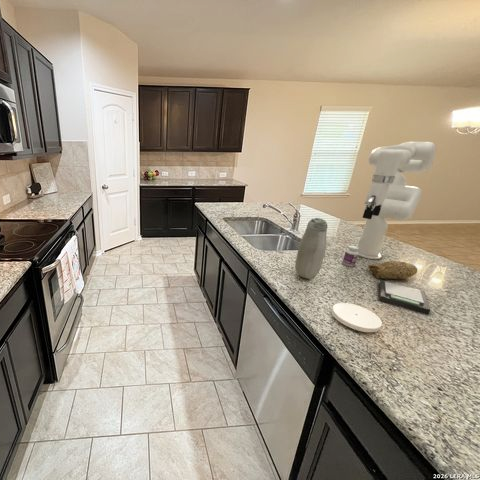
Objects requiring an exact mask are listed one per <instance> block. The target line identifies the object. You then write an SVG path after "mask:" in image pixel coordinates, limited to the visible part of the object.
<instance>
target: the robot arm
mask: <svg viewBox="0 0 480 480" xmlns="http://www.w3.org/2000/svg"><path fill="white" fill-rule="evenodd" d="M368 156H369V157H368V164H369V165H370V166H373V167H375V168H374V171H373V174H372V177H371V180H370V183H371V184H370V187H369V189H368V192H367V194H366V198H365V200H364V205H365V207H364V211H363V214H362V218H363V219H366V220H365V223H364V225H363V226H364V227H363V228H362V233H361V236H360V238H359V242H358V245H357V247H358V248H359V249H358V251H357V252H358V253H359V254H358V257H361V258H364V259H369V260H380V259H382V254H381V253H380V250H381V248H382V245H383V242H384V239H385V237H386V234H387V231H388V228H389V224H388V222H387V220H386V219H390V220H395V221H400V222H401V221H402V222H405V221H408V220H410V219H411V217H413V215H414V212H415V211H416V208H417V206H418V205H419V203H420V200H421V198H422V193H423V192H422V189H421V188H420V187H417V186H413V185H412V186H411V185H407V184H408V180H407V178H406V176H405V175H404V174H403V173H408V174H426V173H428V172H429V171H430V170H431V169H432V167H433V164H434V161H435V156H436V144H435V143H434V142H432V141H405V142H402V143H400V144H394V145H387V146H379V147H377V148H375V149H373V150H372V151H371V153H370V154H369V155H368Z"/></svg>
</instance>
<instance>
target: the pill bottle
mask: <svg viewBox="0 0 480 480" xmlns="http://www.w3.org/2000/svg"><path fill="white" fill-rule="evenodd" d="M358 249H359V248H358V246H356V245H349V246H348V248H347V249H346V250H345V253H344V256H343V258H342V264H343V265H344V266H347V267H355V266H356V263H357V259H358V257H359V256H358V254H359V253H358V252H357V251H358Z"/></svg>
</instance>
